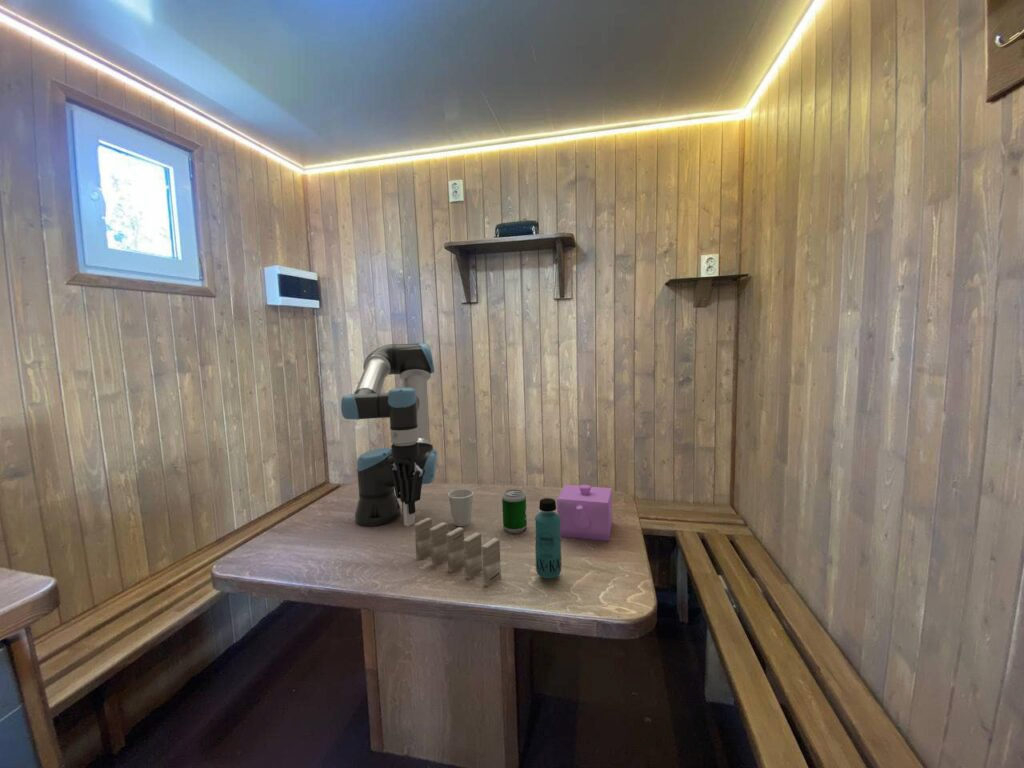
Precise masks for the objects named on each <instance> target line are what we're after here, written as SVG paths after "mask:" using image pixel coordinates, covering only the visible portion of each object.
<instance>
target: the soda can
mask: <svg viewBox="0 0 1024 768" xmlns="http://www.w3.org/2000/svg"><path fill="white" fill-rule="evenodd" d="M501 497H502V498H501V503H502V526H503V527H502V528H503V529H504V530H505V531H506V532H508V533H510V534H519V533H522V532H524V531H525V529H527V527H528V523H527V522H528V521H527V495H526V493H525V492H524V491H523V490H521V489H518V488H516V489H515V488H512V489H508V490H506V491H504V493H503V494H502V496H501Z"/></svg>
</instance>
